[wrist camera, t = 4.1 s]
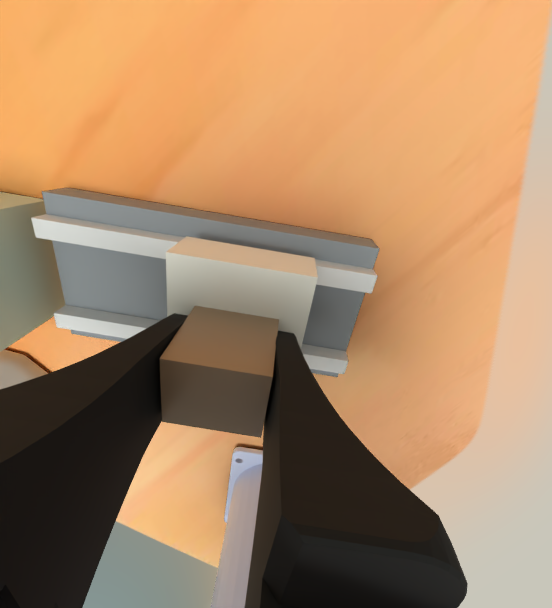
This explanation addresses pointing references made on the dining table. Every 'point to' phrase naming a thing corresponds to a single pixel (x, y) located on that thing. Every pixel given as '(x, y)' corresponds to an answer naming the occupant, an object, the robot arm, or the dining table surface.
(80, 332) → the rail track
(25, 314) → the cabinet
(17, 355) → the flask
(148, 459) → the dining table surface
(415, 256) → the dining table surface
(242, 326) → the carriage
